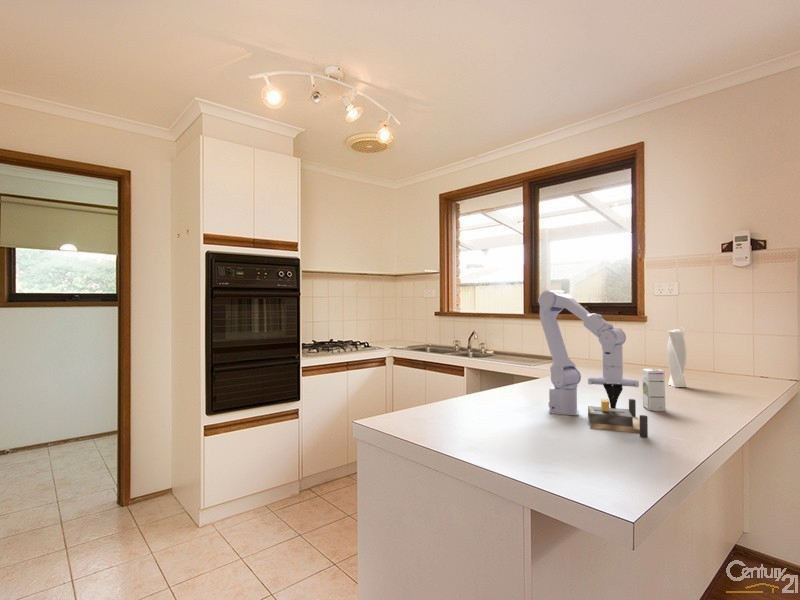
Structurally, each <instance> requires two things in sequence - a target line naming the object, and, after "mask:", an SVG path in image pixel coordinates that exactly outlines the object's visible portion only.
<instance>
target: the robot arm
mask: <svg viewBox="0 0 800 600" xmlns="http://www.w3.org/2000/svg"><path fill="white" fill-rule="evenodd" d="M537 302H538V305H539V319H540V322H541V323H540V324H541V326H542V329H543V332H544V337H545V340H546V343H547V347H548V350H549V352H550V356H551V359H552V364H551V365H550V368H549V371H550V381H551V384H552V385H553V386H549V390H548V391H549V393H548V394H549V395H548V396H549V397H548V398H549V401H548V408H549V410H548V411H549V414H553V415H554V414H555V415H567V416H577V417H578V416H579V409H578V384H580V382H581V380H582V375H581V372H580V371H579V369H578V368H577V367H576V363H574V361H572V360H571V359H570V357H569V354H568V352H567V351H568V350H567V349H566V345H565V342H564V339H563V336H562V332H561V329H560V326H559V323H558V320H557V316H558V315H559V313H561V312H562V311H563V310H564V309H566V310H568V312H570V313H572V314H573V315H575V316H576V317H577V318H579V319H580V320H582V321H583V327H585V329H587V330H588V331H589V332H591V333H592V334H593V335H594V336H596V337H597V338H598V339H597V340H598V341H599V344H600V345H601V349H602V377H587V384H588V385H599V386H600V385H602V386H603V388H604V390H605V392H606V394H607V395H606V396H607V397H608V401H609V408H613V409H616V407H617V403H618V400H619V397H620V395H621V393H623V392H622V391H623V389H624V388H623V387H633V388H634V387H635V388H640V384H639V383H640V381H639V380H637V379H627V378H624V377H623V374H624V373H623V371H624V370H623V365H624V364H623V361H624V360H623V345H624V344H625V342H626V339H627V336H626V333H625V332H624V330H623V329H622V328H619V327H614V324H612V323H609V322H608V321H607V320H605V319H604V318H603V315H602V314H601V313H599V314H598V313H590V312H589V311H588V310H587V309H586V308H585V307H583V305H581V304H580V303H579V302H578V301H576V299H574V297H573V296H572V295H571V294H569V293H568V292H567V291H566V290H548V289H546V290H543V291H542V292H541V293H540V295H539V297H538V299H537Z"/></svg>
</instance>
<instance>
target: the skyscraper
mask: <svg viewBox="0 0 800 600" xmlns="http://www.w3.org/2000/svg"><path fill="white" fill-rule="evenodd" d="M667 333H668V335H669V337H668V341H667V348H666V355H667V356H666V358H667V364H668V369H669V373H670V375H669V379H668V383H667V386H668V385H671V386H674V387H673V388H675V387H687V384H686V381H685V376H684V372H685V368H686V363H687V346H686V340H685V337H684V335H685V333H686V331H685V327H684V326H681V327H680V329H668V330H667ZM671 386H670V387H671Z"/></svg>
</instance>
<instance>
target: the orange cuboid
mask: <svg viewBox="0 0 800 600" xmlns="http://www.w3.org/2000/svg"><path fill="white" fill-rule="evenodd" d="M600 407H601V409H602V411H608V412H609V408H610V401H609V398H608V399H607V398H601V399H600Z"/></svg>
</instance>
